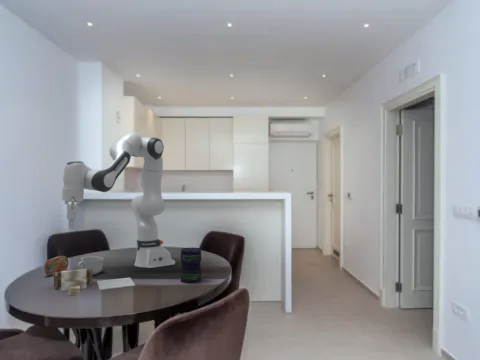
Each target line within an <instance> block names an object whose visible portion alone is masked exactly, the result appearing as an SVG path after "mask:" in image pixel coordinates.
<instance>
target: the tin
mask: <svg viewBox="0 0 480 360" xmlns="http://www.w3.org/2000/svg"><path fill="white" fill-rule="evenodd" d="M68 267H69V259H68V257H67V256H66V255H58V256H56V257H53V258H50V259H47V260H46V262H45V263H44V274H46V275H47V276H49V277H50V276H53V277H54V272H61V271H67V269H68Z"/></svg>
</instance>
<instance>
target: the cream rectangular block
mask: <svg viewBox="0 0 480 360" xmlns="http://www.w3.org/2000/svg"><path fill="white" fill-rule="evenodd" d="M73 286H80V290H83V289H87V283H86V269H70V270H66V271H61V287H60V289H61V290H60V291H61V292H64V291H69V290H70V287H73Z"/></svg>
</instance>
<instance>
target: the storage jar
mask: <svg viewBox="0 0 480 360" xmlns="http://www.w3.org/2000/svg"><path fill="white" fill-rule="evenodd" d="M201 262H202V249H201V248H200V247H184V248H181V249H180V263H181V264H180V275H179V276H180V283H183V284H197V283H198V284H199V283H200V282H201V281H202V269H201V268H202V267H201V265H202V263H201Z"/></svg>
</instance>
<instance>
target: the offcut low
mask: <svg viewBox="0 0 480 360" xmlns="http://www.w3.org/2000/svg"><path fill="white" fill-rule="evenodd" d="M67 293H68V295H67V296H68V297H73V296H80V295H81V292H80V293H79V294H71V295H69V292H67Z"/></svg>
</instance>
